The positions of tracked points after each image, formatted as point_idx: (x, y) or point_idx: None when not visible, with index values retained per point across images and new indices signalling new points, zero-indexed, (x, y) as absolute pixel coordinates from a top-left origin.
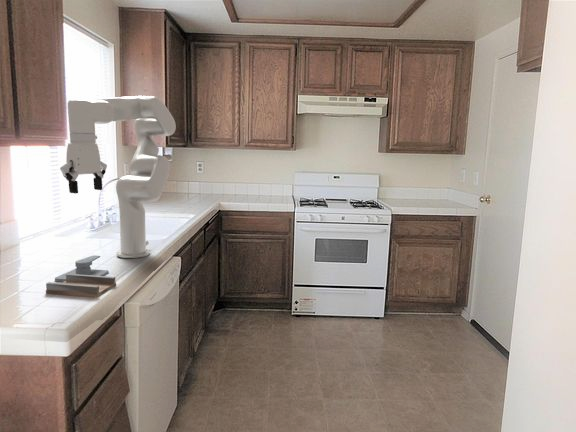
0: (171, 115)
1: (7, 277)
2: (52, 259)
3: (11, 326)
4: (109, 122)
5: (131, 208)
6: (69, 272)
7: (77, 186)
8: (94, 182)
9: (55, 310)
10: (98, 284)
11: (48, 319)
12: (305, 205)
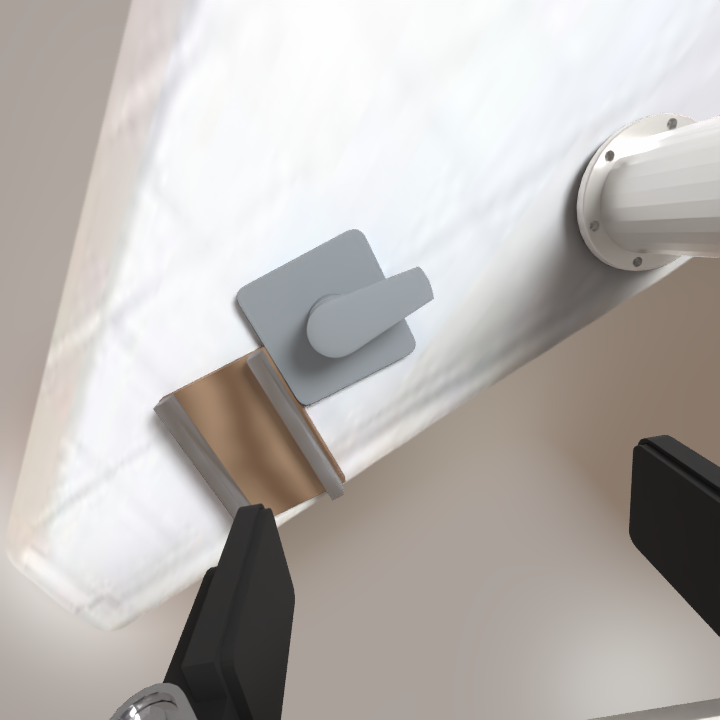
0: None
1: (122, 94)
2: None
3: (16, 555)
4: None
5: None
6: (309, 264)
7: (281, 678)
8: (715, 520)
9: (131, 532)
10: (300, 460)
11: (97, 570)
12: None
